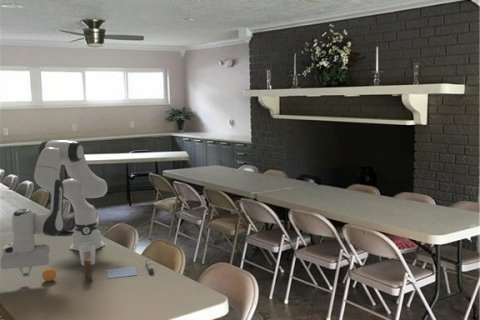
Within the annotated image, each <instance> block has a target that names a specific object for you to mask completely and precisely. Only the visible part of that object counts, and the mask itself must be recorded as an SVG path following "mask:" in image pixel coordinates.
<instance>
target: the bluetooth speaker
mask: <svg viewBox="0 0 480 320" xmlns="http://www.w3.org/2000/svg"><path fill="white" fill-rule="evenodd" d="M74 230H75V217H73V216H72V217H71V216H64V215H63V229H62V230H61V232H60V233H64V232H69V231H70V232H71V231H74Z"/></svg>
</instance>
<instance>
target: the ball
mask: <svg viewBox="0 0 480 320" xmlns="http://www.w3.org/2000/svg"><path fill="white" fill-rule="evenodd" d="M41 276H42V280H43V281H45V282H53V281H54V280H55V279H56V277H57V271H56V269H54V268H51V267H47V268H45V269H44V270H43V271H42V275H41Z"/></svg>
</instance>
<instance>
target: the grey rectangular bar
mask: <svg viewBox="0 0 480 320" xmlns="http://www.w3.org/2000/svg"><path fill="white" fill-rule="evenodd" d="M145 267H146V269H147V272H148V275H154V273H155V272H154V267H153V265H152V262H151V259H145Z"/></svg>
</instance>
